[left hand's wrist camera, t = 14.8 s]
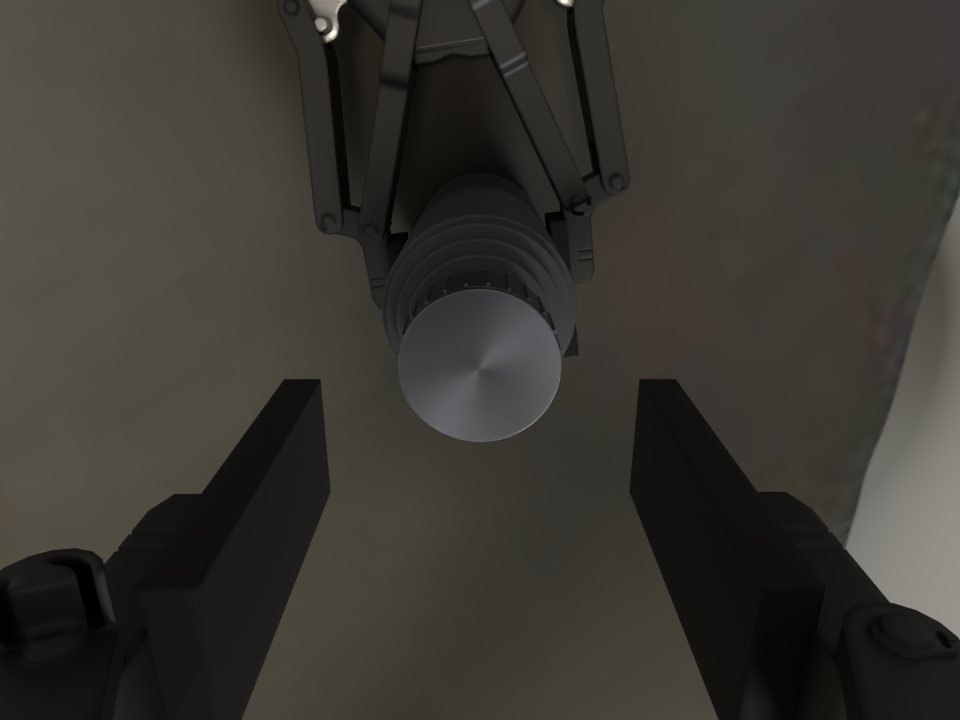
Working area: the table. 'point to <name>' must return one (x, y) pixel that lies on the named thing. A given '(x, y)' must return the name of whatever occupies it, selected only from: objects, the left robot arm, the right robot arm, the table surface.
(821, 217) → the table surface
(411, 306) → the bottle
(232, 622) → the left robot arm
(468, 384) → the cap
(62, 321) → the table surface
